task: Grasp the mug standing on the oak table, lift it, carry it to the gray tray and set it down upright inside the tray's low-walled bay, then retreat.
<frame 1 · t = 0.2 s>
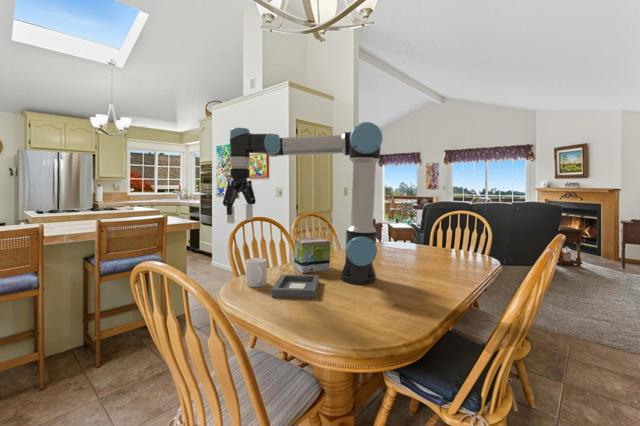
hand: (240, 221, 131), 26 cm above the table, fingers open, 13 cm apart
mug: (257, 286, 133), on the table
gray tray: (296, 289, 129), on the table
tea box: (311, 270, 159), on the table
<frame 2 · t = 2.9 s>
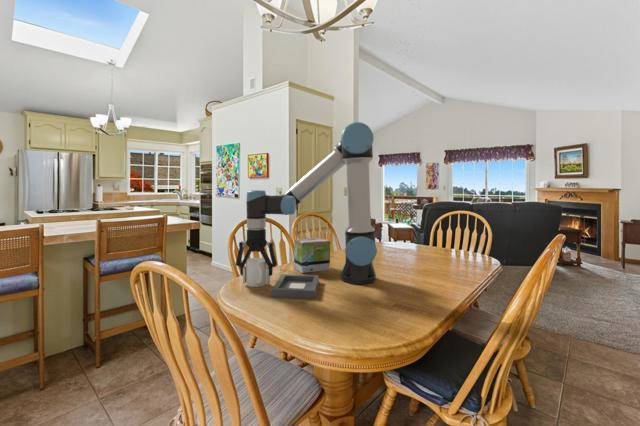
hand: (256, 282, 134), 1 cm above the table, fingers open, 9 cm apart
mug: (257, 286, 133), on the table, touching gripper
everything else where it was.
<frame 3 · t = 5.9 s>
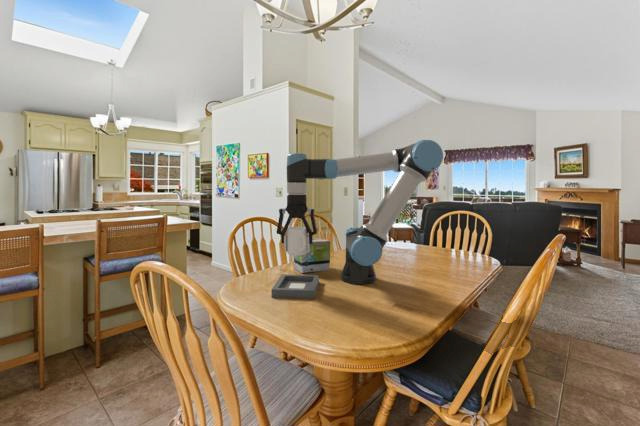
hand: (297, 251, 128), 15 cm above the table, fingers closed on mug, 8 cm apart
mug: (299, 254, 128), point 14 cm above the table, touching gripper
everything else where it was.
when the fingers open (4 cm above the table, at t = 8.9 s): mug drops 2 cm, resting on gray tray.
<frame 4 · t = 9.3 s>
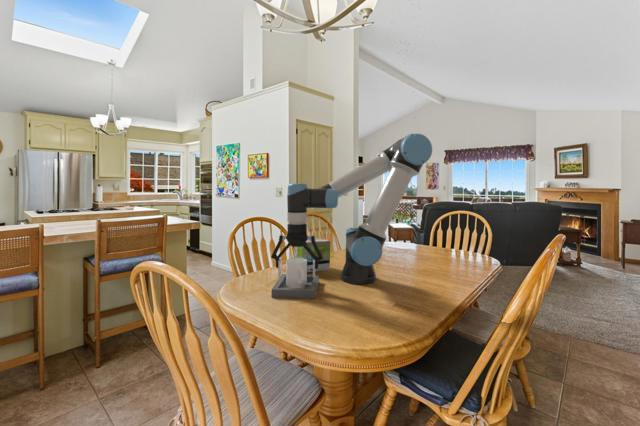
hand: (297, 276, 129), 5 cm above the table, fingers open, 13 cm apart
mug: (298, 287, 129), point 1 cm above the table, touching gray tray
everything else where it was.
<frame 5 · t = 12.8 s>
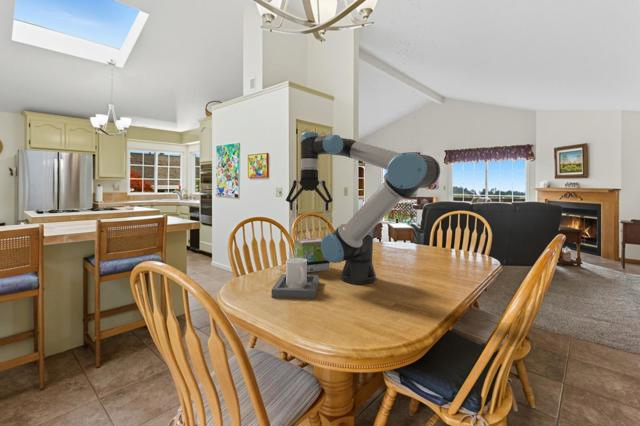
hand: (309, 218, 143), 27 cm above the table, fingers open, 13 cm apart
nothing on the table moved.
at the end: mug inside the target area on the gray tray (0.7 cm from its centre), point 0.9 cm above the gray tray's base; mug tilted 0°; the gripper is holding nothing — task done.
